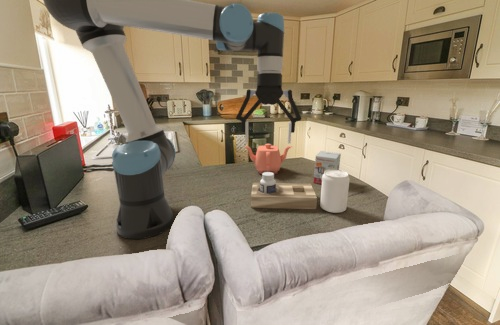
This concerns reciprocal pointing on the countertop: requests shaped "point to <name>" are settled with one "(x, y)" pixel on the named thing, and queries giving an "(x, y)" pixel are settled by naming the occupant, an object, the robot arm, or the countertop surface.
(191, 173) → the countertop surface
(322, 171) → the ink box
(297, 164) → the countertop surface
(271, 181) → the pill bottle
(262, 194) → the socket block
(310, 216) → the countertop surface
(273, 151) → the teapot
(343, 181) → the beverage can
